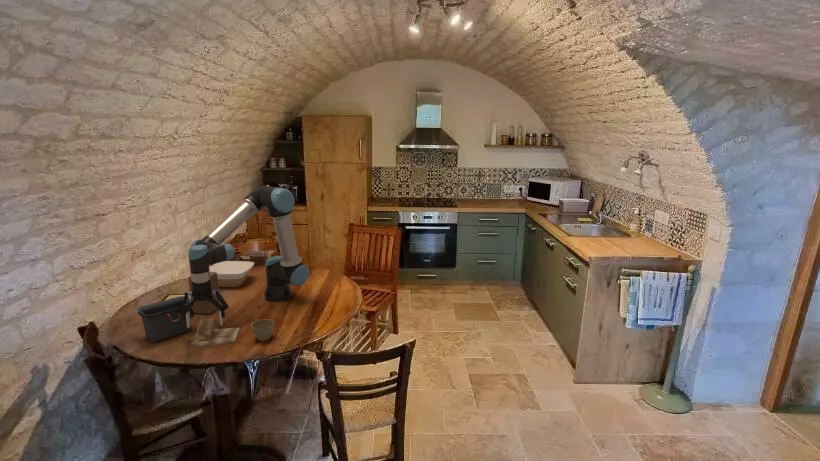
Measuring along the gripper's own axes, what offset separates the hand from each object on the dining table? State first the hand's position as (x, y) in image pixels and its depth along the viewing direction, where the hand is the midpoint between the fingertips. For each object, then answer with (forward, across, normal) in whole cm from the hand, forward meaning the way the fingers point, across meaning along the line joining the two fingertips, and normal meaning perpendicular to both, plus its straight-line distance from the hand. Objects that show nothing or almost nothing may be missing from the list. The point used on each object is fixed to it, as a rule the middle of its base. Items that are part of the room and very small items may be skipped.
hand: (205, 325), depth 193 cm
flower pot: (+7, -25, +4) cm, 26 cm away
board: (+6, -4, 0) cm, 8 cm away
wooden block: (+7, +7, -32) cm, 34 cm away
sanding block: (+5, 0, 0) cm, 5 cm away
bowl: (+7, +1, -72) cm, 72 cm away
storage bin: (+7, +17, -8) cm, 20 cm away
